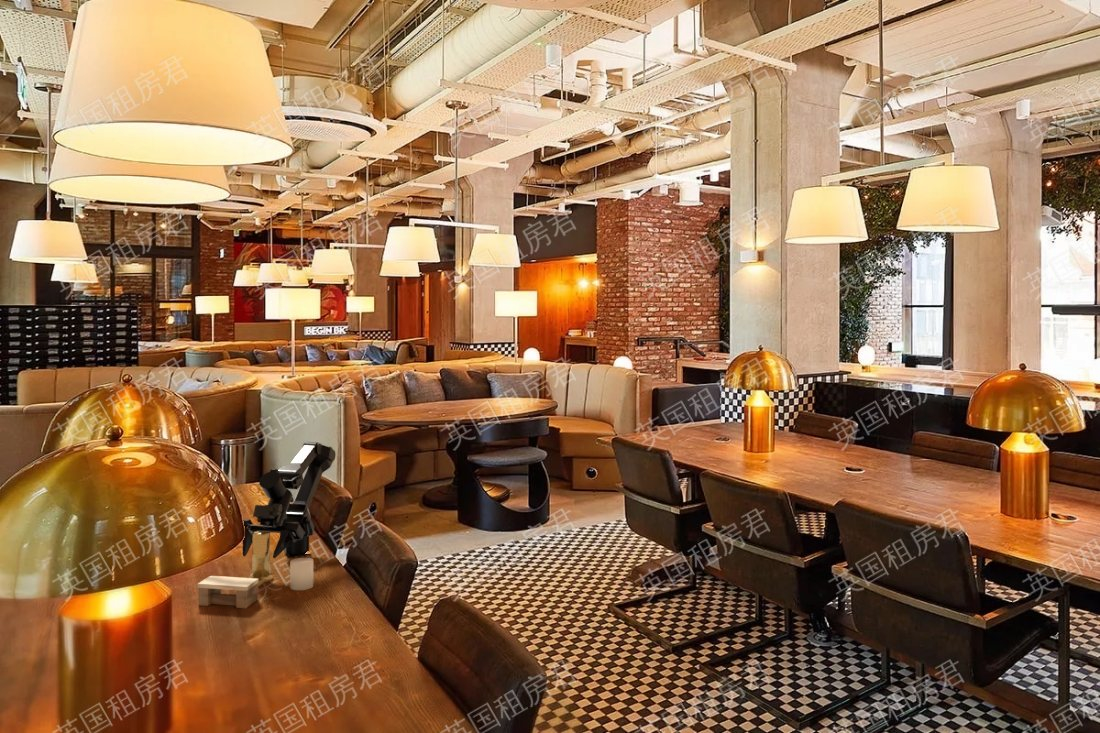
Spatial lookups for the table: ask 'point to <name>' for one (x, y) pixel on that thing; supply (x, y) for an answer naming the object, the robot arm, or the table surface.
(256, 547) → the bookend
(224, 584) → the bridge
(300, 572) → the white cylinder
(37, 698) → the table surface
